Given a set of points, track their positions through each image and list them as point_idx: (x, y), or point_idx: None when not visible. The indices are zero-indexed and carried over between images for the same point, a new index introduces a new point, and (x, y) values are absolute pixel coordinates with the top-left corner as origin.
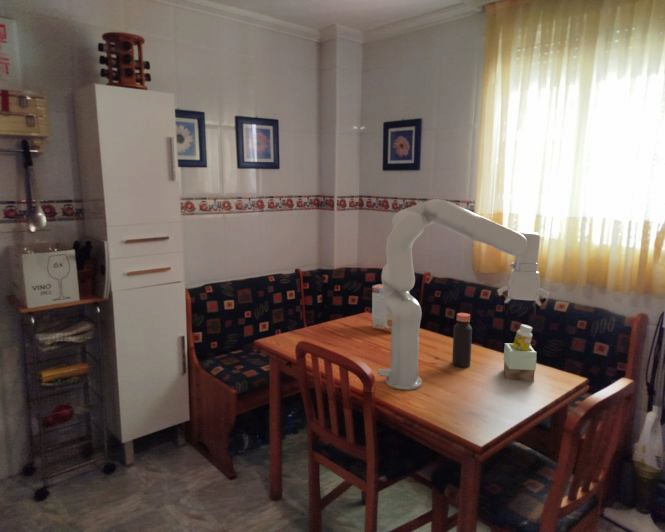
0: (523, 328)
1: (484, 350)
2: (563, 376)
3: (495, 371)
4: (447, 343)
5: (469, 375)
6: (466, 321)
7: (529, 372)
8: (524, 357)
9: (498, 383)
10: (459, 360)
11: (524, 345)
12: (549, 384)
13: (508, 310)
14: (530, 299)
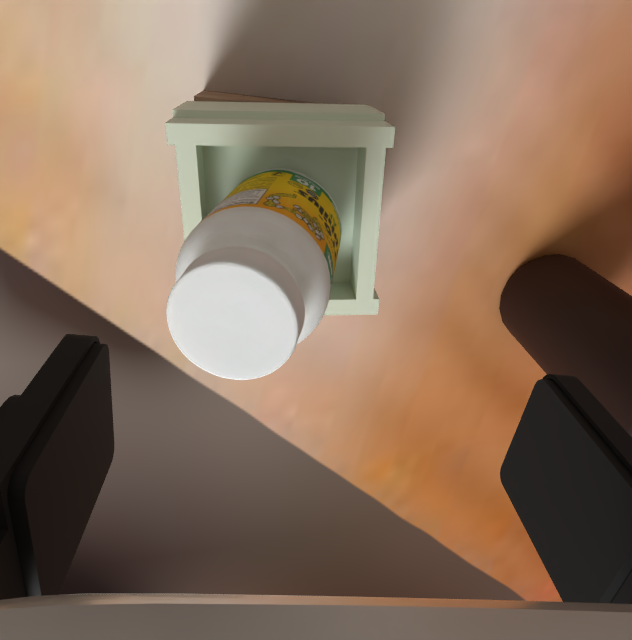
0: (280, 272)
1: (367, 475)
2: (8, 195)
3: (391, 224)
4: (511, 522)
5: (556, 148)
6: None
7: (229, 98)
8: (270, 113)
9: (428, 36)
10: (592, 270)
11: (264, 182)
12: (111, 52)
13: (576, 412)
14: (169, 614)
